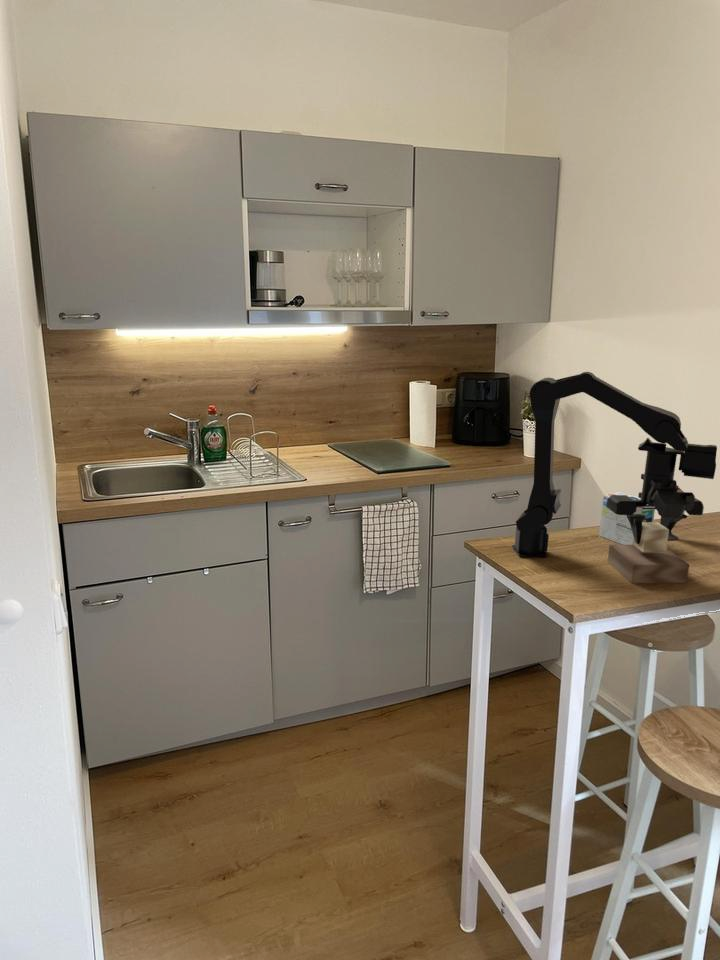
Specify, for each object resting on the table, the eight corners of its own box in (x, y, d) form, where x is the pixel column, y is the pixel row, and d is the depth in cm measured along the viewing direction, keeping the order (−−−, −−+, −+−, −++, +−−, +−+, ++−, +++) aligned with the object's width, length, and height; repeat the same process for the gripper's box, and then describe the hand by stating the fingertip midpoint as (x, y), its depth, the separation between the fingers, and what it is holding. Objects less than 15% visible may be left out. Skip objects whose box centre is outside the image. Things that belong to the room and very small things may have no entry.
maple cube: (643, 552, 152) (646, 529, 151) (632, 544, 157) (635, 522, 156) (665, 552, 153) (669, 529, 151) (654, 544, 157) (657, 522, 156)
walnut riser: (631, 583, 150) (633, 565, 149) (607, 561, 162) (609, 544, 161) (686, 582, 151) (689, 564, 150) (659, 561, 163) (661, 544, 162)
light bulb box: (651, 545, 173) (657, 502, 170) (632, 549, 170) (638, 505, 167) (616, 531, 182) (621, 490, 179) (597, 535, 179) (602, 493, 176)
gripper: (633, 482, 142) (623, 557, 146) (723, 483, 144) (711, 557, 148) (609, 468, 153) (601, 538, 157) (694, 469, 154) (683, 538, 158)
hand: (649, 543), depth 155 cm, fingers closed on maple cube, 5 cm apart
